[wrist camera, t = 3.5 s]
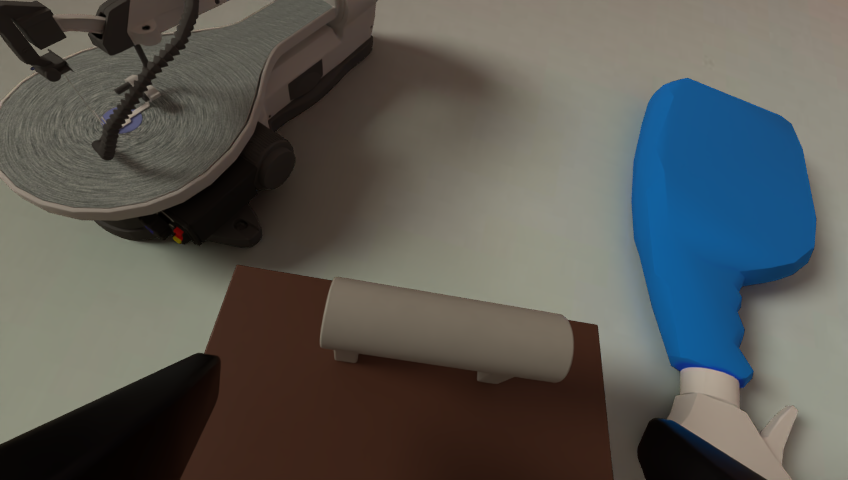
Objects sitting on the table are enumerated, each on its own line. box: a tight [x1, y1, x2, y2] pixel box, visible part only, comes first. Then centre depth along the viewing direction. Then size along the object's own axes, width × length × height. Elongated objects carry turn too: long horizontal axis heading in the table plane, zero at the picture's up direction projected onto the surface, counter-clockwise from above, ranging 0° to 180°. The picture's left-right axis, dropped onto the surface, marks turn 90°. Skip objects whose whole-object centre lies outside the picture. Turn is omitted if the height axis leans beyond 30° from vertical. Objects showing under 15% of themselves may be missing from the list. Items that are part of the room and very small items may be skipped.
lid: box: [180, 265, 613, 480], centre depth 9 cm, size 10×13×5 cm
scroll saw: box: [0, 0, 377, 247], centre depth 18 cm, size 20×11×12 cm
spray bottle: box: [632, 78, 816, 480], centre depth 22 cm, size 3×11×24 cm
